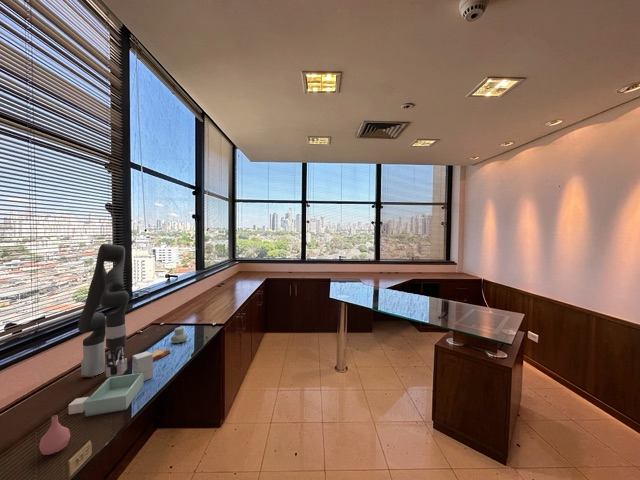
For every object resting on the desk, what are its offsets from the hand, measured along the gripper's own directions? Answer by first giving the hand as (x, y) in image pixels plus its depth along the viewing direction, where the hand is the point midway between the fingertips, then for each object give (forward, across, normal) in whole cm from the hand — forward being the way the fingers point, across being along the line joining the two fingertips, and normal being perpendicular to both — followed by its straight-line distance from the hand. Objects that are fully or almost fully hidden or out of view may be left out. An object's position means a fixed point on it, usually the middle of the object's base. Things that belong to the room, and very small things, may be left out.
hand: (116, 371), depth 124 cm
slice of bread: (+13, -45, +3) cm, 47 cm away
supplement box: (+13, -18, +5) cm, 23 cm away
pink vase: (+13, +30, -7) cm, 34 cm away
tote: (+13, 0, 0) cm, 13 cm away
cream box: (+13, +4, -13) cm, 18 cm away
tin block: (+1, 0, 0) cm, 1 cm away
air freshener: (+13, -71, +12) cm, 73 cm away
